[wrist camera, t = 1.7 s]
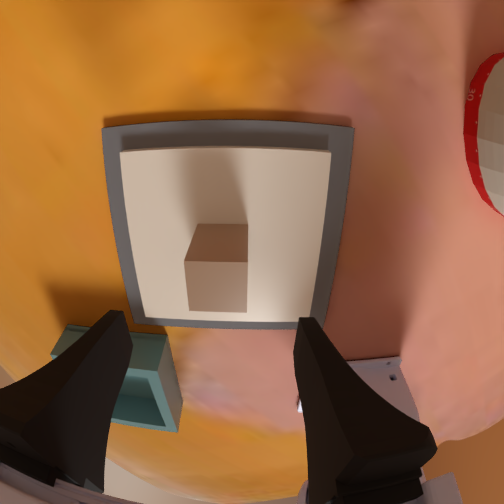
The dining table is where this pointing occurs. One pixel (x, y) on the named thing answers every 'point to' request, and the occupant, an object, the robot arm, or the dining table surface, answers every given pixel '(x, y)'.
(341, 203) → the mat
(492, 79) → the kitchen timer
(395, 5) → the dining table surface
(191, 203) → the lid
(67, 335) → the teal square tray
